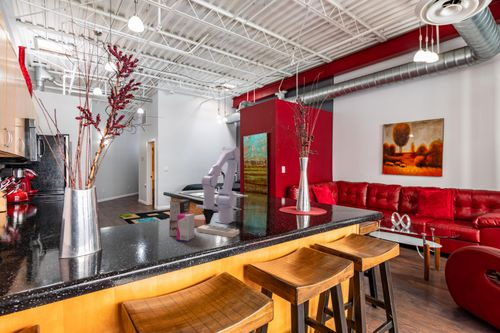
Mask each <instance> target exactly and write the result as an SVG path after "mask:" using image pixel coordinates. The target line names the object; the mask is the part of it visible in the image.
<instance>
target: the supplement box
mask: <svg viewBox="0 0 500 333" xmlns="http://www.w3.org/2000/svg"><path fill="white" fill-rule="evenodd" d="M194 216H195V213H191V212H190V213H182V214H179V215H177V236H176V241H177V242H186V243H189V242H190V241H192V240H194V239H195V226H194Z"/></svg>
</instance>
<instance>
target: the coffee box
mask: <svg viewBox="0 0 500 333" xmlns="http://www.w3.org/2000/svg"><path fill="white" fill-rule="evenodd" d="M190 211H191V200H190V199H182V198H180V199H175V200H170V202H169V225H168V236H170V237H171V236H172V237H177V215H179V214H182V213H191V212H190Z"/></svg>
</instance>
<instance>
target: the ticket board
mask: <svg viewBox="0 0 500 333" xmlns="http://www.w3.org/2000/svg"><path fill="white" fill-rule="evenodd" d="M196 232H198V233H203V234H208V235H215V236H222V237H227V238H234V237H236V236H238V235H240V229H237V228H230V227H223V226H216V225H211V224H209V225H202V226H200V227H196Z"/></svg>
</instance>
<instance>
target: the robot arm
mask: <svg viewBox="0 0 500 333" xmlns="http://www.w3.org/2000/svg"><path fill="white" fill-rule="evenodd" d="M221 148H222V149H221V150H220V156H219V158H218V159H217V162H216V164H213V165H212V167H211V168H210V169H209V171H208V173H207V174H206V175H204V176H203V177H202V179H201V185H202V189H203V200H202V203H203V204H196V206H195V209H196V210H202V212H201V213H202V215H203V216H204V217H203V218H205V220H206V224H209V225H211V222H212V218H213V216H214V214H215V212H218V216H217V217H218V219H217V220H216V221H214V222H215V223H218V224H225V225H227V224H230V223H232V222H235V219H234V208H233V206H234V205H235V198H236V197H235V196H236V195H235V194H234V192H233V191H232V189H233V186H234V180H235V176H236V171H237V168H238V163H239V161H240V156H241V150H240V148H239V147H238V146H234V147H233V146H230V147H229V146H227V147H226V146H223V147H221ZM225 163H227V168H226V172H225V176H224V181H223V186H222V189H220V190H219V191H218V193H217V195H216V197H215V194H216V193H215V191H216V189H215V188H216V186H217V184H218V180H219V176H220V175H221V174H222V171H223V169H222V168H223V166H224V165H225ZM215 203H216V205H217V206H216V205H215Z"/></svg>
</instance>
